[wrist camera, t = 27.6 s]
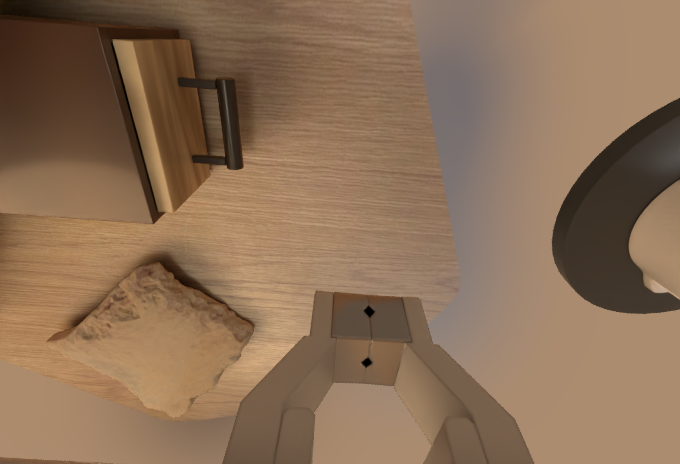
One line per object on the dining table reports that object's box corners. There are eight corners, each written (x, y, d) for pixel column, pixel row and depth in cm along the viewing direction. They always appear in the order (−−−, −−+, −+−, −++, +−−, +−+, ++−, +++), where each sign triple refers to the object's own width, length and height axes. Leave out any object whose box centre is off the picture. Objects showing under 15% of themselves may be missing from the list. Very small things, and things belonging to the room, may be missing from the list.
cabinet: (178, 29, 25) (97, 26, 17) (203, 176, 32) (153, 224, 24) (-7, 14, 25) (-181, 2, 17) (57, 165, 31) (-44, 210, 23)
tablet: (274, 334, 45) (153, 249, 35) (265, 385, 39) (116, 301, 29) (171, 382, 54) (50, 326, 44) (150, 431, 48) (5, 378, 38)
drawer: (243, 44, 25) (205, 46, 18) (253, 178, 31) (228, 217, 24) (16, 25, 24) (-108, 20, 18) (72, 164, 30) (-5, 200, 24)
